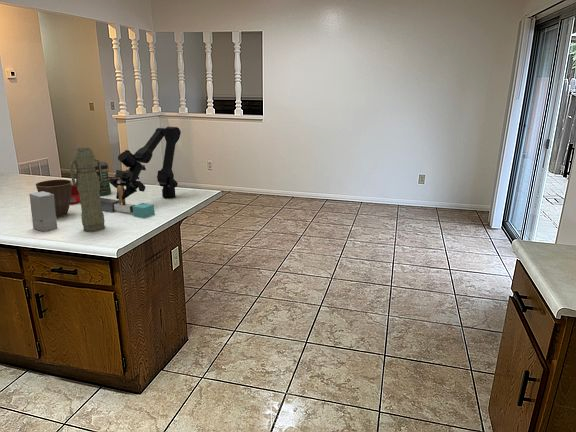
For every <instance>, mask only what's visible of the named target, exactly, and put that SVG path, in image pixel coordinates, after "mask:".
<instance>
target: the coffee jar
mask: <svg viewBox="0 0 576 432" xmlns="http://www.w3.org/2000/svg"><path fill="white" fill-rule="evenodd" d="M100 162H101V169H102V177H103V181H102V182H101V183H100V190H99V193H100V197H101V196H108V195H111V194H112V188H111V186H110V185H111V183H109V180H110V178H109V165H108V163H107V162H106V161H100ZM95 165H96V167H95V169H96V173H97V175H98V177H99V171H98V163H97V162H95ZM99 180H100V179H99Z"/></svg>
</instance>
